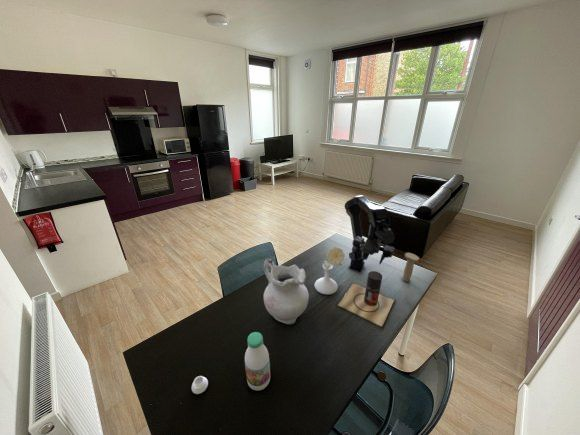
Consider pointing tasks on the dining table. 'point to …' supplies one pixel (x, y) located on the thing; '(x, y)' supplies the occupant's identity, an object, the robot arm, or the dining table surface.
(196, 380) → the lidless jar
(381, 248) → the robot arm
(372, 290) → the deodorant
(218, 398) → the dining table surface
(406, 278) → the handle
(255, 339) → the milk bottle
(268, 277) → the ceramic pitcher
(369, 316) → the circle mat
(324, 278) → the flower in vase
